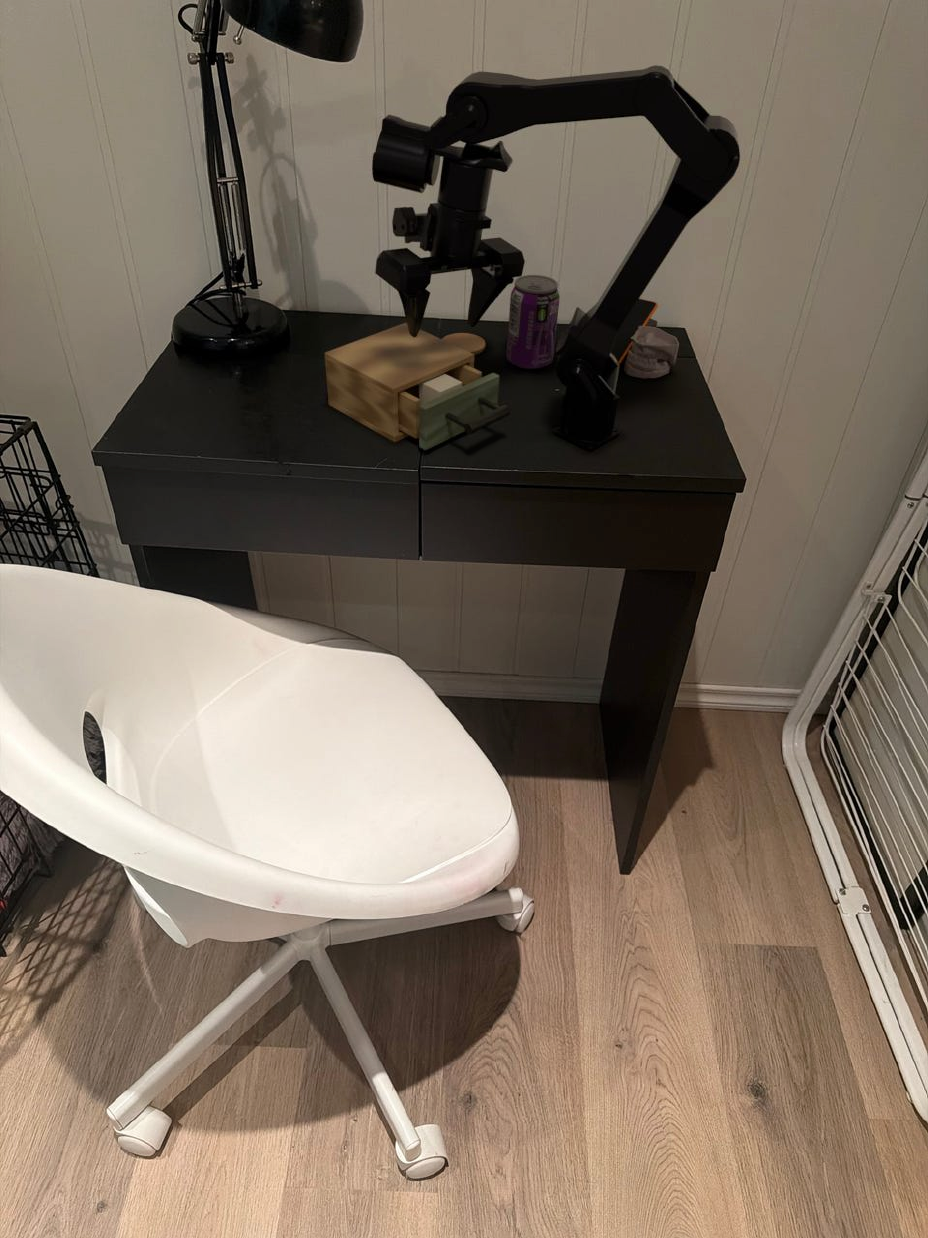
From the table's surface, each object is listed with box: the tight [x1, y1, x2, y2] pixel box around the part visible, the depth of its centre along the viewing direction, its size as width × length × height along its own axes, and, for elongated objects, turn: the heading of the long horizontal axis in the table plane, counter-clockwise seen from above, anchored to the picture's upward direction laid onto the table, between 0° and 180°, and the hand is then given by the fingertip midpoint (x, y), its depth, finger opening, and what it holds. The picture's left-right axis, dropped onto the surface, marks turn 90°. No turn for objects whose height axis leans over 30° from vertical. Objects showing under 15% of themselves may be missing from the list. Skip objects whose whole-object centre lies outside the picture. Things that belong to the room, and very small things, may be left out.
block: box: [419, 373, 462, 405], centre depth 110 cm, size 4×4×4 cm
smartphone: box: [611, 298, 659, 366], centre depth 129 cm, size 8×17×1 cm, turn 147°
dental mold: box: [623, 326, 680, 379], centre depth 126 cm, size 8×7×5 cm
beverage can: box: [505, 274, 560, 370], centre depth 124 cm, size 7×7×12 cm
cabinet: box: [323, 322, 475, 443], centre depth 115 cm, size 14×15×8 cm
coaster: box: [441, 332, 486, 356], centre depth 132 cm, size 7×7×1 cm
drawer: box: [398, 364, 511, 451], centre depth 110 cm, size 17×13×6 cm
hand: (442, 330), depth 108 cm, fingers open, 9 cm apart
